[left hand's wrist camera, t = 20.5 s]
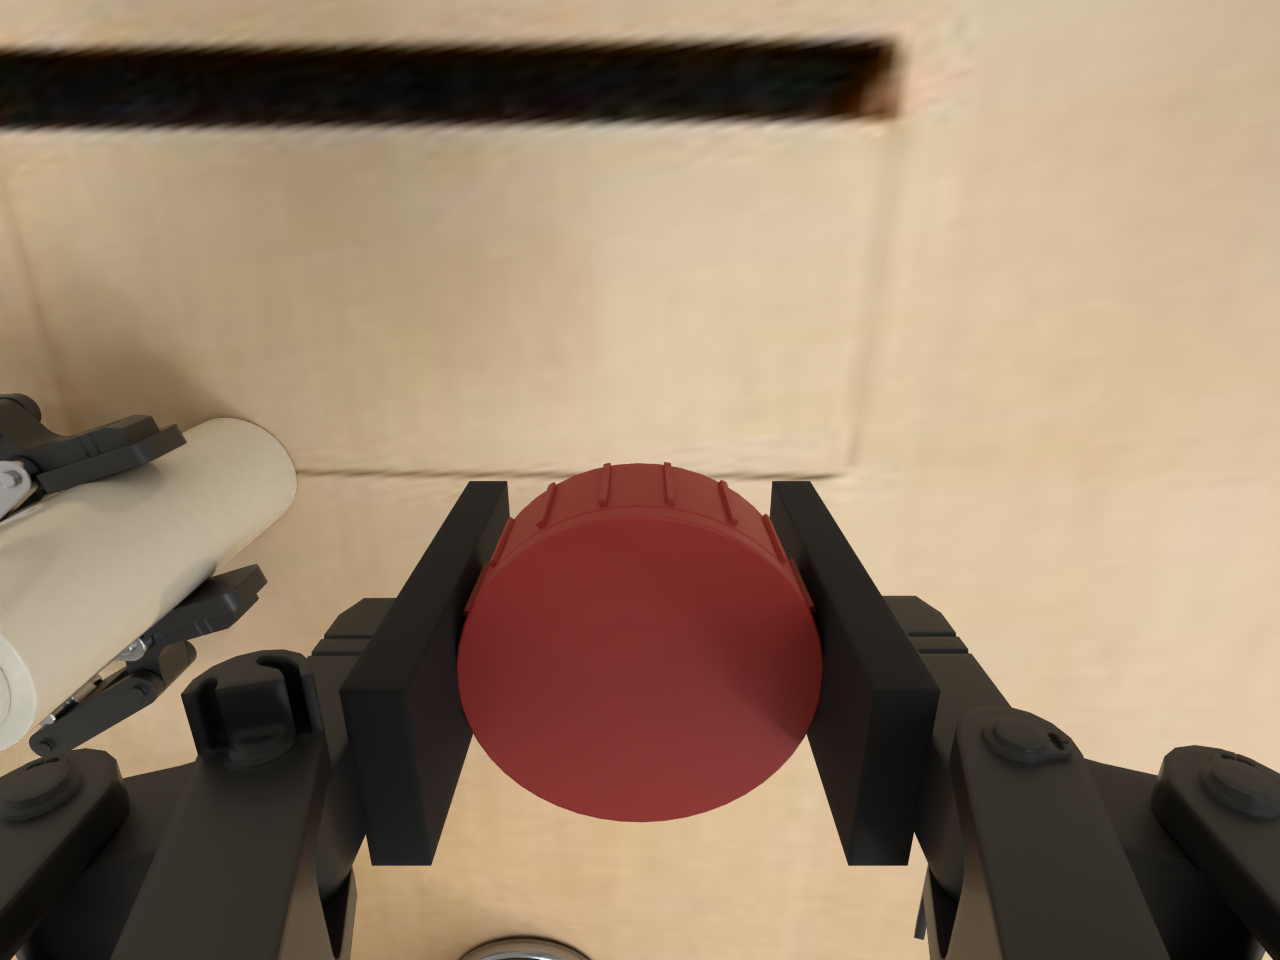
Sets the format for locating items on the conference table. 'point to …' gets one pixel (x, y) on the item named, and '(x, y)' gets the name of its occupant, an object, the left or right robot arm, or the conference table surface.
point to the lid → (639, 646)
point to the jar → (125, 559)
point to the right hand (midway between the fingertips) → (208, 515)
